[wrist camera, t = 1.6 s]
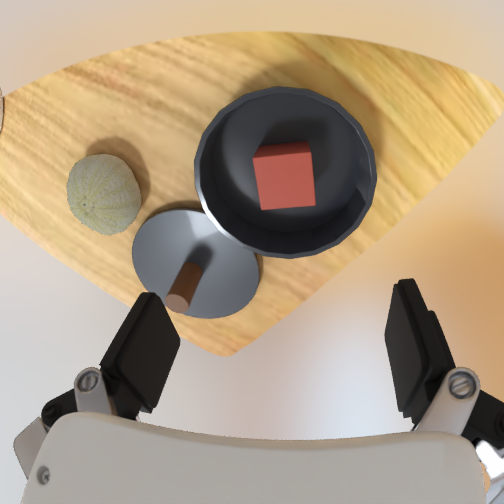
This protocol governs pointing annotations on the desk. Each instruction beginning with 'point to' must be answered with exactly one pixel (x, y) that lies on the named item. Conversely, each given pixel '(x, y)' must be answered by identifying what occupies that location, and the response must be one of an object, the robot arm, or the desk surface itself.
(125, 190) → the sea urchin shell
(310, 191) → the block
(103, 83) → the desk surface
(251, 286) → the pot lid
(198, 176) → the pot
